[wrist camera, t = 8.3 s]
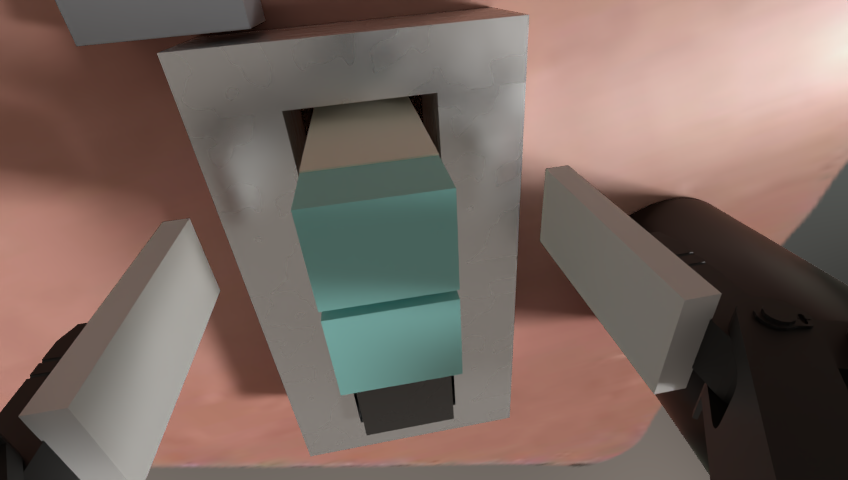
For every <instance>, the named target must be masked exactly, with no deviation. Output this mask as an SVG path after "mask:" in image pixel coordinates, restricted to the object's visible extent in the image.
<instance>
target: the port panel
mask: <svg viewBox="0 0 848 480" xmlns="http://www.w3.org/2000/svg"><path fill="white" fill-rule="evenodd" d="M528 27H529V15H528V14H523V13H518V12H513V11H508V10H503V9H498V8H493V7H489V8H479V9H469V10H459V11H449V12H439V13H429V14H419V15H409V16H399V17H389V18H380V19H370V20H360V21H350V22H340V23H330V24H320V25H310V26H300V27H290V28H280V29H270V30H260V31H250V32H240V33H230V34H221V35H211V36H201V37H196V38H193V39H191V40H188V41H186V42H183V43H181V44H178V45H176V46H173V47H171V48H168V49H166V50H163V51H161V52H158V53H157V55H158V58H159V60H160V63H161V65H162V68H163V71H164V73H165V76H166V78H167V81H168V84H169V86H170V89H171V92H172V94H173V97H174V99H175V102H176V105H177V107H178V110H179V113H180V115H181V118H182V120H183V123H184V126H185V128H186V131H187V134H188V136H189V139H190V141H191V144H192V147H193V149H194V152H195V154H196V157H197V160H198V162H199V165H200V168H201V170H202V173H203V175H204V178H205V181H206V183H207V186H208V189H209V191H210V194H211V196H212V199H213V202H214V204H215V207H216V210H217V212H218V215H219V217H220V220H221V223H222V225H223V228H224V230H225V233H226V236H227V238H228V241H229V244H230V246H231V249H232V251H233V254H234V257H235V259H236V262H237V265H238V267H239V270H240V272H241V275H242V278H243V280H244V283H245V286H246V288H247V291H248V293H249V296H250V299H251V301H252V304H253V306H254V309H255V312H256V314H257V317H258V320H259V322H260V325H261V327H262V330H263V333H264V335H265V338H266V341H267V343H268V346H269V348H270V351H271V354H272V356H273V359H274V362H275V364H276V367H277V369H278V372H279V375H280V377H281V380H282V382H283V385H284V388H285V390H286V393H287V396H288V398H289V401H290V403H291V406H292V409H293V411H294V414H295V417H296V419H297V422H298V424H299V427H300V430H301V432H302V435H303V438H304V440H305V443H306V445H307V448H308V451H309V453H310V456H314V455H319V454H325V453H330V452H335V451H340V450H345V449H350V448H355V447H361V446H366V445H371V444H376V443H381V442H386V441H391V440H397V439H402V438H407V437H412V436H417V435H422V434H427V433H433V432H438V431H443V430H448V429H453V428H458V427H463V426H469V425H474V424H479V423H484V422H489V421H494V420H499V419H505V418H510V397H511V376H512V356H513V335H514V315H515V294H516V274H517V253H518V233H519V212H520V191H521V171H522V150H523V130H524V109H525V89H526V68H527V48H528ZM414 95H421V99H422V112H423V125H424V127H425V129H426V131H427V133H428V134H429V136H430V138H431V140H432V142H433V144H434V146H435V147H436V149H437V151H438V153H439V157H440V158H441V160H442V162H443V164H444V166H445V168H446V170H447V172H448V173H449V175H450V177H451V179H452V181H453V183H454V185H455V187H456V196H457V225H458V254H459V283H460V290H457V292H458V295H459V298H460V312H461V341H462V370H463V374H459V375H453V376H448V377H442V378H436V379H431V380H425V381H420V382H414V383H408V384H403V385H397V386H391V387H386V388H380V389H375V390H369V391H363V392H358V393H352V394H346V395H341V394H340V390H339V387H338V383H337V379H336V376H335V372H334V368H333V365H332V361H331V357H330V353H329V350H328V346H327V342H326V339H325V335H324V331H323V328H322V324H321V312H318V309H317V305H316V302H315V298H314V294H313V291H312V287H311V283H310V279H309V276H308V272H307V268H306V265H305V261H304V257H303V254H302V250H301V246H300V242H299V239H298V235H297V231H296V228H295V224H294V220H293V216H292V213H291V208H292V203H293V199H294V195H295V190H296V186H297V182H298V177H299V169H300V165H301V161H302V156H303V152H304V148H305V144H306V139H307V137H306V133H305V128H304V124H303V120H302V115H301V111H300V109H304V108H313V107H321V106H329V105H338V104H346V103H355V102H363V101H372V100H380V99H388V98H397V97H405V96H414Z"/></svg>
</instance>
